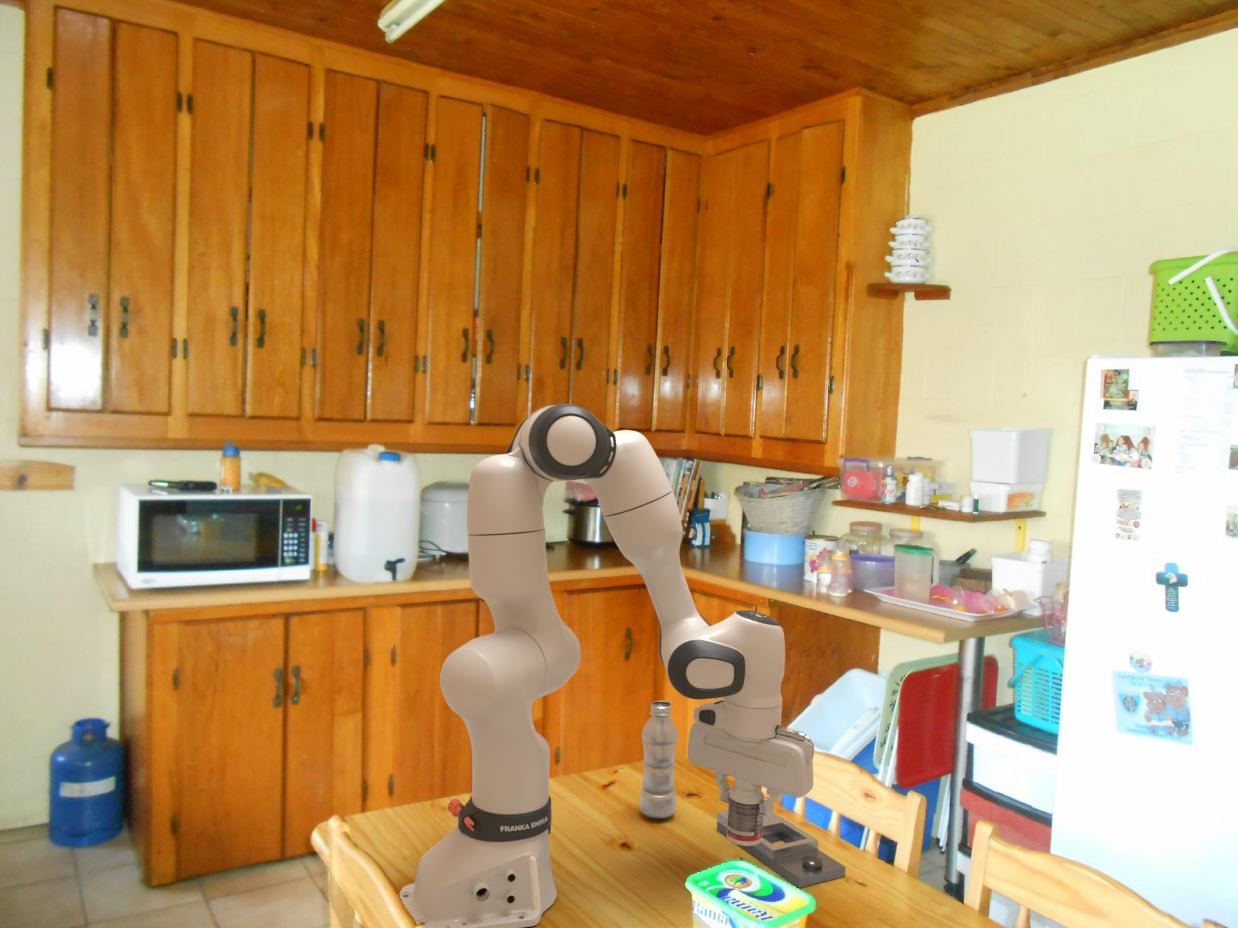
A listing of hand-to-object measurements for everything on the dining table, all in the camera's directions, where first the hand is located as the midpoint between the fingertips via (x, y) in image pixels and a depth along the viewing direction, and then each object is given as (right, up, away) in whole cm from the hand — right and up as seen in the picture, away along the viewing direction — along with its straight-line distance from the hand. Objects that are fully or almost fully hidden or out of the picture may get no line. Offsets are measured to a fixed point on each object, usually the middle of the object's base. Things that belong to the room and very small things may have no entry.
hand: (745, 807), depth 143 cm
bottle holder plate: (+7, -11, +10) cm, 16 cm away
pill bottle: (0, -5, 0) cm, 5 cm away
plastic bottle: (-13, -10, +22) cm, 27 cm away
